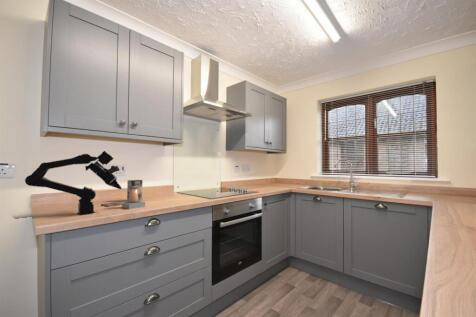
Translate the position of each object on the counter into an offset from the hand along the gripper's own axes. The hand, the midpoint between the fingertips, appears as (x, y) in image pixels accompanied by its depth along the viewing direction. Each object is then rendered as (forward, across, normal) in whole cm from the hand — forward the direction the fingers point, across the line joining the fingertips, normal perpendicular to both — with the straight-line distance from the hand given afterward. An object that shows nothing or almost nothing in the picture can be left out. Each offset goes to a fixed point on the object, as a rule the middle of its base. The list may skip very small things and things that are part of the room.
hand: (120, 188), depth 138 cm
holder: (+15, 0, +4) cm, 15 cm away
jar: (+14, 0, +3) cm, 15 cm away
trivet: (+8, +18, +11) cm, 22 cm away
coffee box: (+19, +35, 0) cm, 40 cm away
